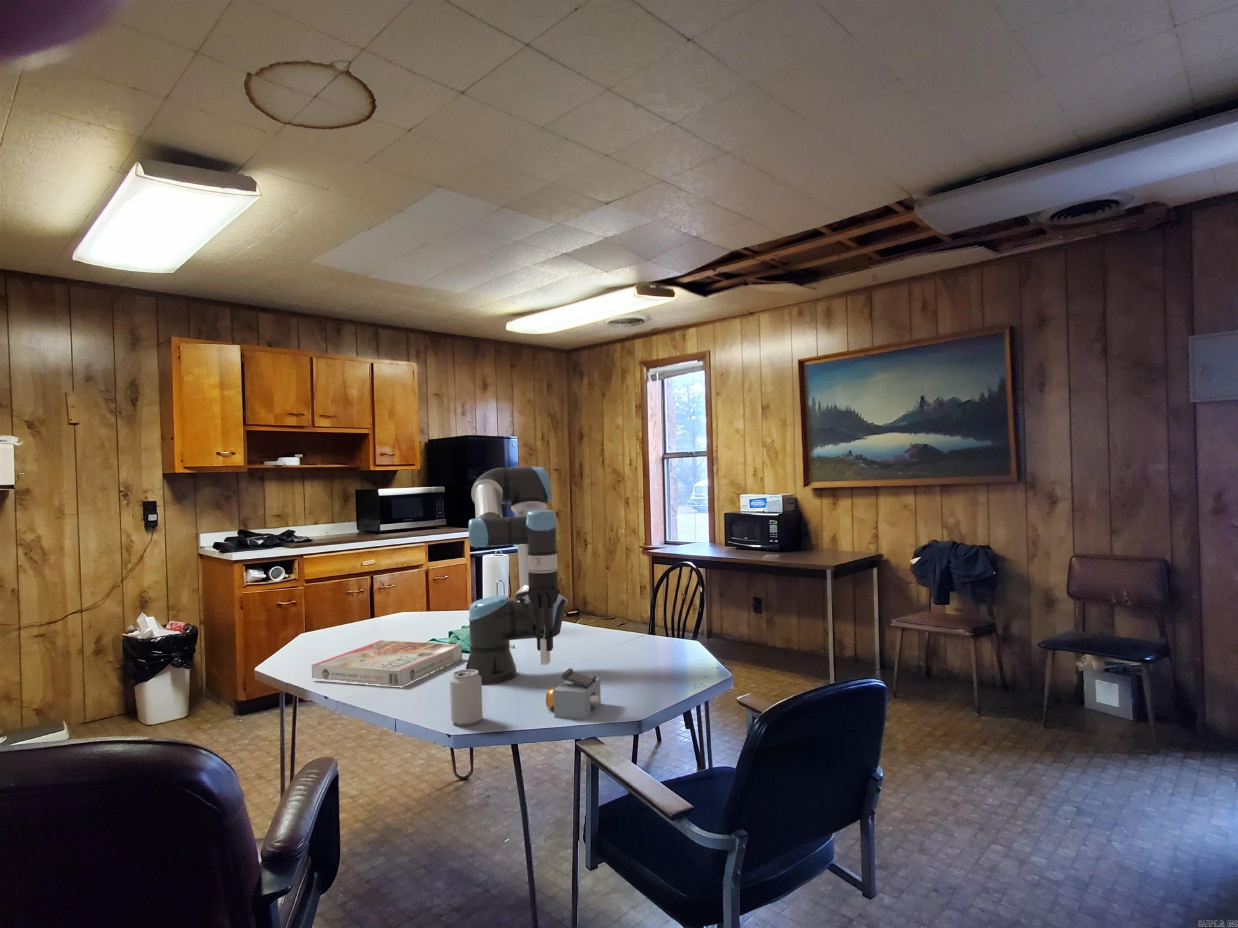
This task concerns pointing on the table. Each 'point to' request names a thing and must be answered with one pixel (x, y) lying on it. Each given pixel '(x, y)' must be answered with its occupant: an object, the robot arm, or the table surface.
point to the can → (466, 697)
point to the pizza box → (388, 662)
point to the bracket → (575, 699)
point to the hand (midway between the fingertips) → (545, 662)
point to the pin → (550, 699)
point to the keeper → (578, 678)
